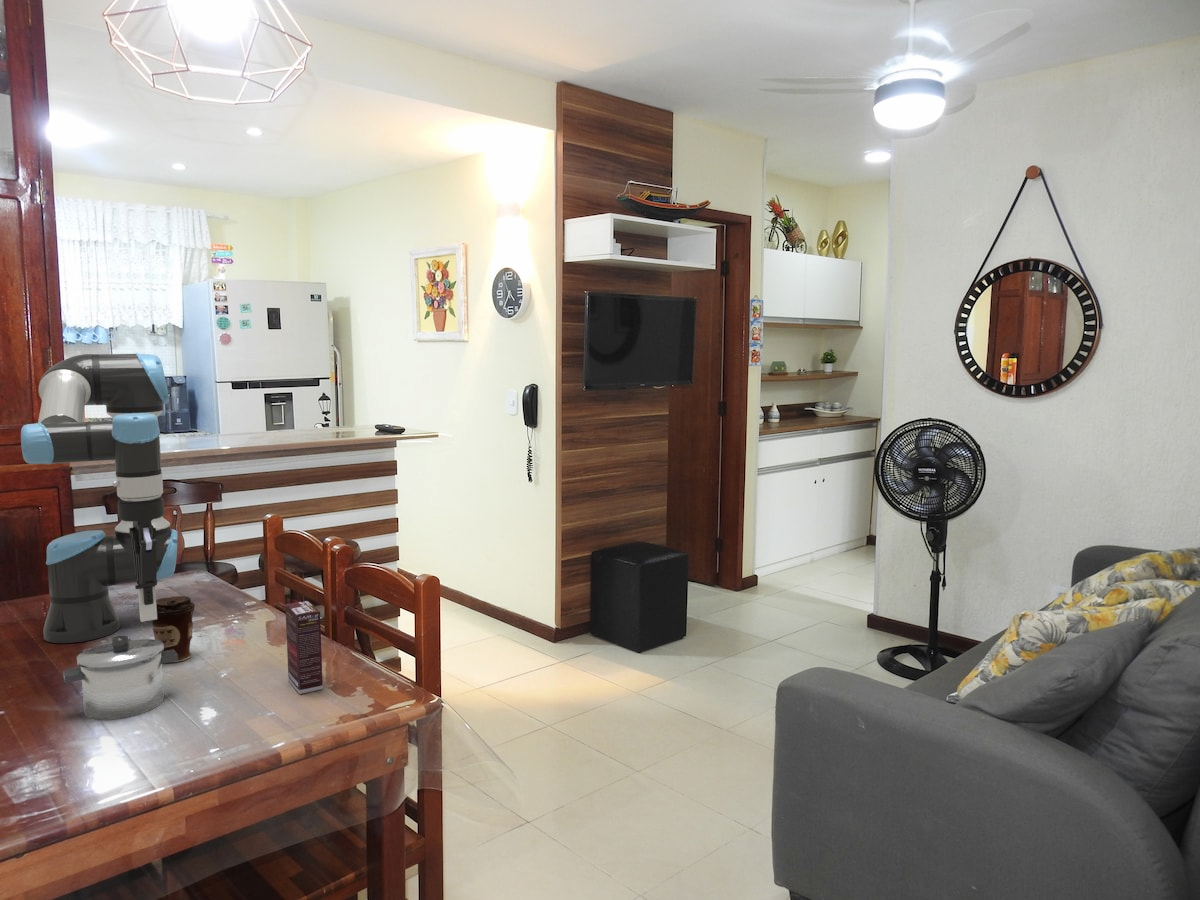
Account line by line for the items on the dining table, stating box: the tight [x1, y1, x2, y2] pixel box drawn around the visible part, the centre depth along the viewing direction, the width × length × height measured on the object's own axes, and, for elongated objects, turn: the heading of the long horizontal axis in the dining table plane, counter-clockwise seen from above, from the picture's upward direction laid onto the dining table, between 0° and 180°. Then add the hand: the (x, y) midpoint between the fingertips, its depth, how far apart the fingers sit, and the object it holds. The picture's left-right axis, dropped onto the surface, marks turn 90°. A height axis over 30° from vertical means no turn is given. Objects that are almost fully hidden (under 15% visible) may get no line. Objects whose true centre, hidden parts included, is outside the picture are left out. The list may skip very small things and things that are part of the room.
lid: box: [76, 635, 164, 668], centre depth 156 cm, size 15×14×4 cm
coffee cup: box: [151, 595, 195, 664], centre depth 179 cm, size 9×8×13 cm
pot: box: [62, 649, 178, 721], centre depth 157 cm, size 14×18×9 cm
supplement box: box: [285, 600, 324, 695], centre depth 165 cm, size 9×5×16 cm, turn 34°
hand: (148, 619), depth 159 cm, fingers closed
